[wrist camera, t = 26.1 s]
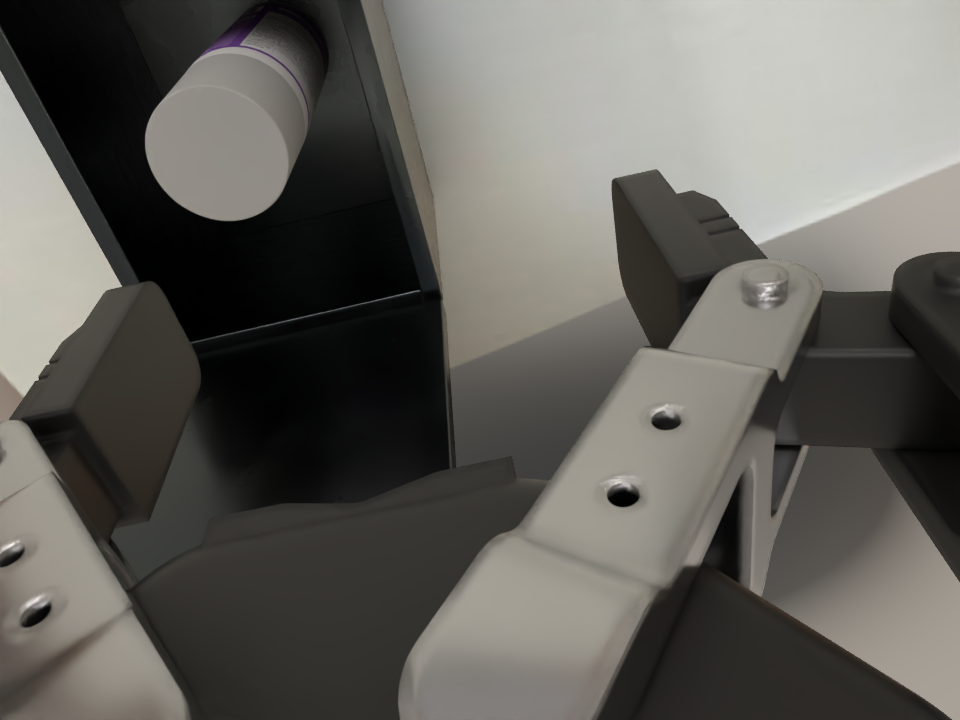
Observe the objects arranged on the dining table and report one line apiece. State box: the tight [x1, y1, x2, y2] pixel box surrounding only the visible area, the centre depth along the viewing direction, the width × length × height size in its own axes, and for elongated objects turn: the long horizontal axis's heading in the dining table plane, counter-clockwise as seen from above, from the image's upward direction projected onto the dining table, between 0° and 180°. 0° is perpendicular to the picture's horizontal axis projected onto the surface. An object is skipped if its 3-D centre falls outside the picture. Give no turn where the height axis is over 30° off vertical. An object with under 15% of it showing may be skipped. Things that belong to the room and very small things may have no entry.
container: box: [145, 2, 329, 221], centre depth 30 cm, size 5×5×15 cm
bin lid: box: [111, 299, 456, 580], centre depth 26 cm, size 16×13×5 cm
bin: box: [0, 0, 443, 355], centre depth 32 cm, size 16×13×12 cm
